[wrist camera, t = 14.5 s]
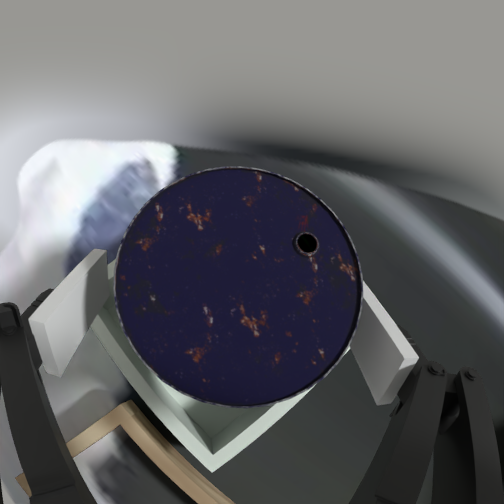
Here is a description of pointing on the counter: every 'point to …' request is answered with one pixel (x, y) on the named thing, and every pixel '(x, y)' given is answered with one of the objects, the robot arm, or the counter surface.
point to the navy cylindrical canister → (238, 287)
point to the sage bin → (185, 399)
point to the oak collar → (153, 445)
